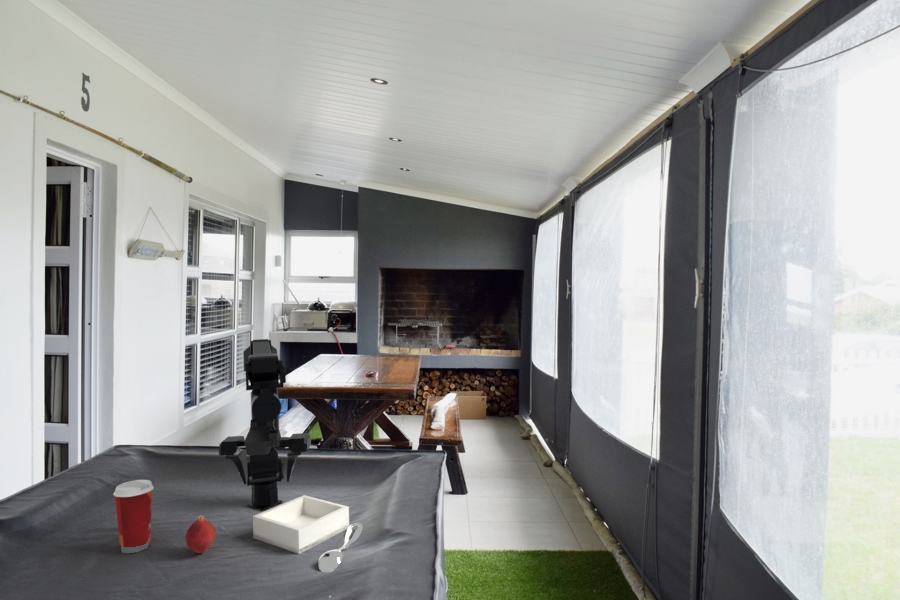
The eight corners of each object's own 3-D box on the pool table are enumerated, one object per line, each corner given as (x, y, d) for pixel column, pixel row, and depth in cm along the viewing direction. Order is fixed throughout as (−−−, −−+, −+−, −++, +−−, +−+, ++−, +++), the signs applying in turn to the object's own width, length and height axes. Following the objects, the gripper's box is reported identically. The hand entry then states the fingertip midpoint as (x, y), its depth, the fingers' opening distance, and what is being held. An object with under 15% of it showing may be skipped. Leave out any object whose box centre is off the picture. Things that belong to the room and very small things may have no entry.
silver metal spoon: (347, 513, 129) (367, 514, 129) (348, 528, 130) (367, 529, 129) (314, 560, 110) (337, 561, 109) (315, 577, 110) (338, 578, 109)
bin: (253, 538, 126) (252, 516, 126) (304, 515, 138) (304, 495, 138) (299, 554, 117) (298, 530, 117) (349, 528, 130) (348, 506, 130)
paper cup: (163, 542, 124) (161, 480, 124) (133, 558, 117) (131, 492, 117) (136, 538, 127) (134, 477, 127) (106, 553, 120) (103, 488, 120)
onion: (204, 561, 115) (203, 522, 115) (179, 559, 117) (178, 520, 116) (221, 548, 121) (220, 511, 121) (197, 546, 122) (196, 510, 122)
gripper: (208, 422, 115) (211, 498, 115) (301, 418, 116) (303, 493, 116) (226, 411, 126) (228, 480, 126) (310, 407, 127) (312, 476, 128)
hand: (267, 482), depth 124 cm, fingers open, 9 cm apart
